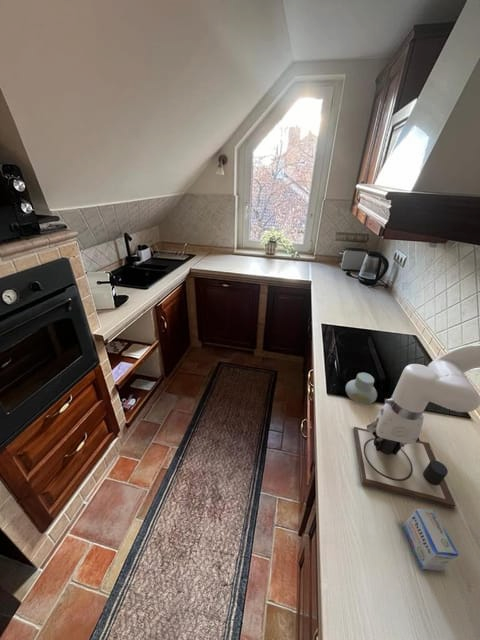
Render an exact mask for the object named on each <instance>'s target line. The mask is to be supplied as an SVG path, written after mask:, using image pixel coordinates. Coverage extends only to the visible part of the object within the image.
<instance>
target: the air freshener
mask: <svg viewBox="0 0 480 640" xmlns="http://www.w3.org/2000/svg"><path fill="white" fill-rule="evenodd" d="M374 383H375V378H374V377H373V376H372V375H371V374H369V373H367V372H358V373H357V374H356V377H355V379H350V380H349V381H347V383H346V384H345V393H346V395H347V396H348V398H349V399H351V400H352V401H353V402H355V403H358V404H359V405H360V404H361V405H370V404H374V403H375V402H376V400H377V398H378V392H377V390H376V388H375V386H374Z"/></svg>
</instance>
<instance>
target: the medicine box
mask: <svg viewBox="0 0 480 640" xmlns="http://www.w3.org/2000/svg"><path fill="white" fill-rule="evenodd" d="M402 528H403V530H404V532H405V535H406V537H407V540H408V542H409V544H410V546H411V549H412V551H413V553H414V555H415V558H416V561H417V562H418V565H419V567H420V569H421V570H429V571H430V570H431V571H443V570H444V569H445V568H446V567H447V566H448V565H449V564H450V563H452V561H453V560H455V559H456V558H457V557H459V556H460V554H459V552H458V550H457V548H456V547H455V545H454V543H453V542H452V539H451V537H450V536H449V534H448V532H447V530H446V529H445V526H444V525H443V523H442V521H441V520H440V517H439V516H438V514H437V512H436V510H435V509H429V508H427V509H426V508H416V509H415V510H413V512H412V513H411V514H410V516H409V517H408V518H407V520H406V521H405V522H404V523H403V525H402Z"/></svg>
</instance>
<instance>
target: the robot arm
mask: <svg viewBox="0 0 480 640" xmlns="http://www.w3.org/2000/svg"><path fill="white" fill-rule="evenodd" d="M476 368H480V343H475V344H468V345H463V346H459V347H456V348H454V349H452V350H450V351H448V352H445V353H444V354H442V355H440V356H438V357H436V358H435V359H433V360H432V361H430V362H429V363H428V365H427V366H426V365H424V364H419V363H409V364H407V365H406V366H405V367H404V369H403V370H402V372H401V374H400V377H399V379H398V382H397V383H396V386H395V389H394V390H393V393H392V395H391V396H390V397H389V398H384V405H383V406H382V407H381V408H380V410H378V413H377V415H376V417H375V419H374V421H372V422H370V423H368V424H367V425H366V429H367V430H368V431H369V432H371V433H372V434H373V435H374V436H375V439H374V446H376V450H377V451H379V450H380V448H381V446H382V444H383V442H382V440H383V439H388V440H393V441H397V444H396V446H395V448H394V450H393V454H394V455H396V454H397V452H398V451H399V450H400V448H401V447H404V446H405V444H414V443H415V442H418V441H421V439H420V437H419V436H420V435H421V431H422V428H423V424H424V420H425V419H424V418H425V417H424V414H423V413H424V411H425V410H426V407H427V406H428V405H429V403H433V404H435V405H437V406H440V407H442V408H445V409H447V410H450V411H453V412H458V413H471V412H474V411H476V410H477V409H478V408H479V407H480V394H479V392H478V391H477V388H475V386H474V385H473V384H472V382H471V381H470V380H469V378H468V377H467V375H466V374H465V373H467V372H469V371H471V370H473V369H476Z"/></svg>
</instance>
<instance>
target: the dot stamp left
mask: <svg viewBox="0 0 480 640" xmlns="http://www.w3.org/2000/svg"><path fill="white" fill-rule="evenodd" d="M382 442H383V444H382V446H381V448H380V451H381V452H382V453H384V454H388V455H389V454H391V453H392V452H393V450H394V448H395V446H396V444H397V441H393V440H388V439H383V440H382Z"/></svg>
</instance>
